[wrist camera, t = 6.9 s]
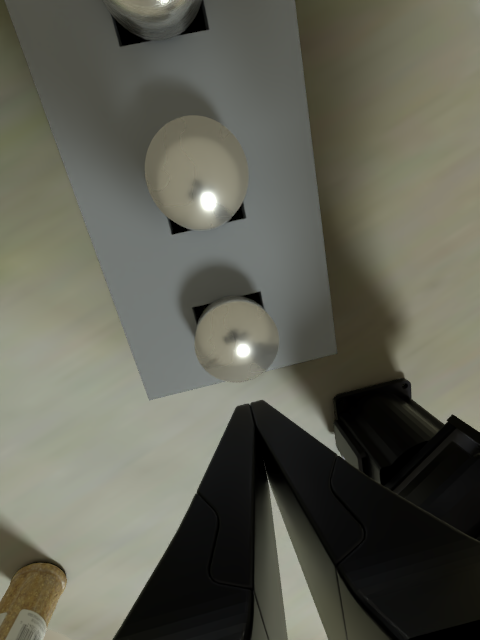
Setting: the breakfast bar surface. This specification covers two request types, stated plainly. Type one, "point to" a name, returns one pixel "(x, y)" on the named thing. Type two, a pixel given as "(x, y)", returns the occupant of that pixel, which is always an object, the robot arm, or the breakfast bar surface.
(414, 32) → the breakfast bar surface
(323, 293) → the mount
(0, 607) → the sprinkles bottle
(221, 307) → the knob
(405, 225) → the breakfast bar surface
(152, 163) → the knob middle
